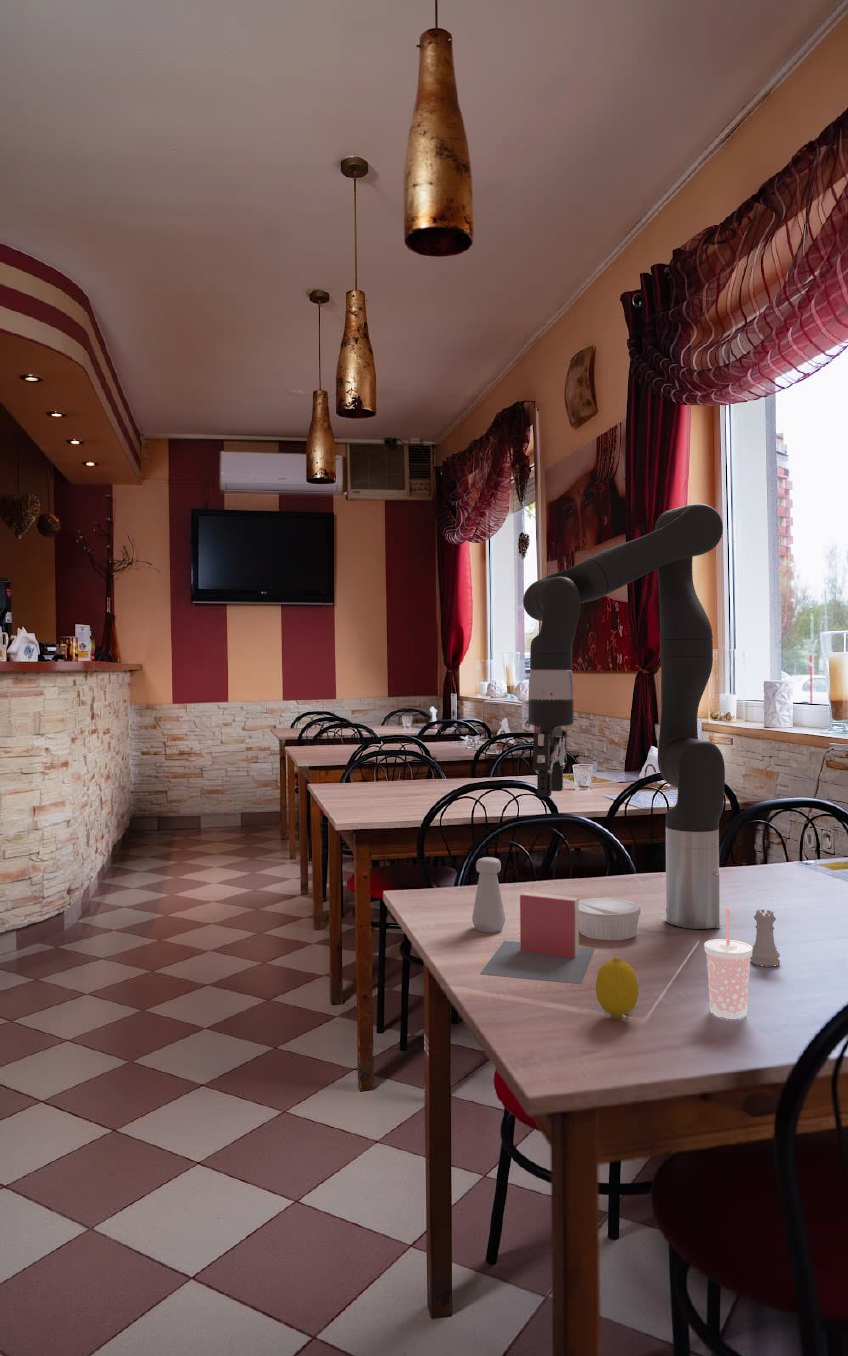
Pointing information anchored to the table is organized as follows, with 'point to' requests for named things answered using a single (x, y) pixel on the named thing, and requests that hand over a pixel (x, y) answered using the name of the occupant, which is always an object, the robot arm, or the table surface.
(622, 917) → the ramekin
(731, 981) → the beverage cup
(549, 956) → the slate mat
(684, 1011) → the table surface
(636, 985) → the lemon
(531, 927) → the tile
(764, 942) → the rook chess piece
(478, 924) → the salt shaker
